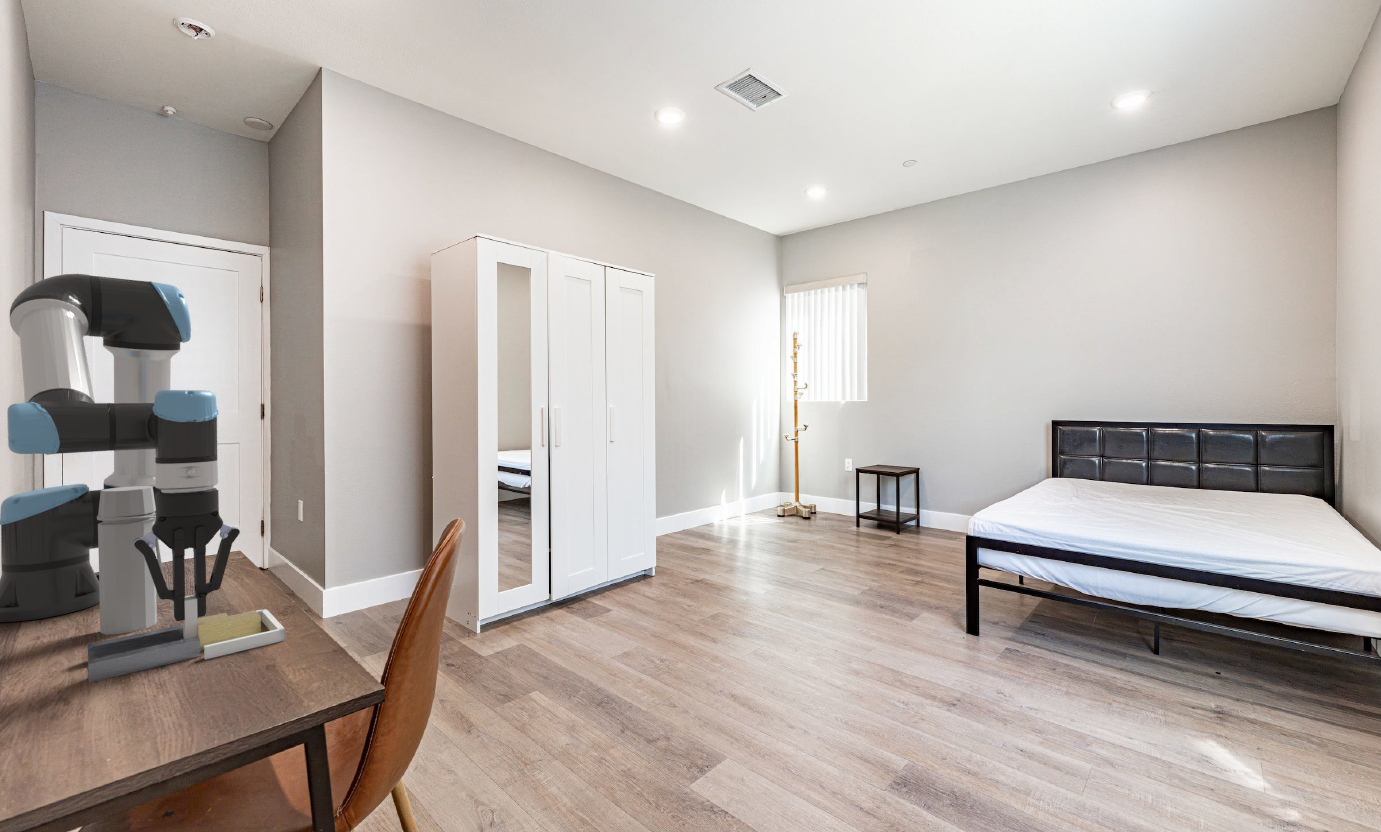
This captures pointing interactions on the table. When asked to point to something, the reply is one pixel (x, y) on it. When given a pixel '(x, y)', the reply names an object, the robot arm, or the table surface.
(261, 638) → the white rectangular frame
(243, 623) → the khaki cube block
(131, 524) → the water bottle
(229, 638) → the tan cube block
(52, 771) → the table surface
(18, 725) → the table surface
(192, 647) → the slot rail
